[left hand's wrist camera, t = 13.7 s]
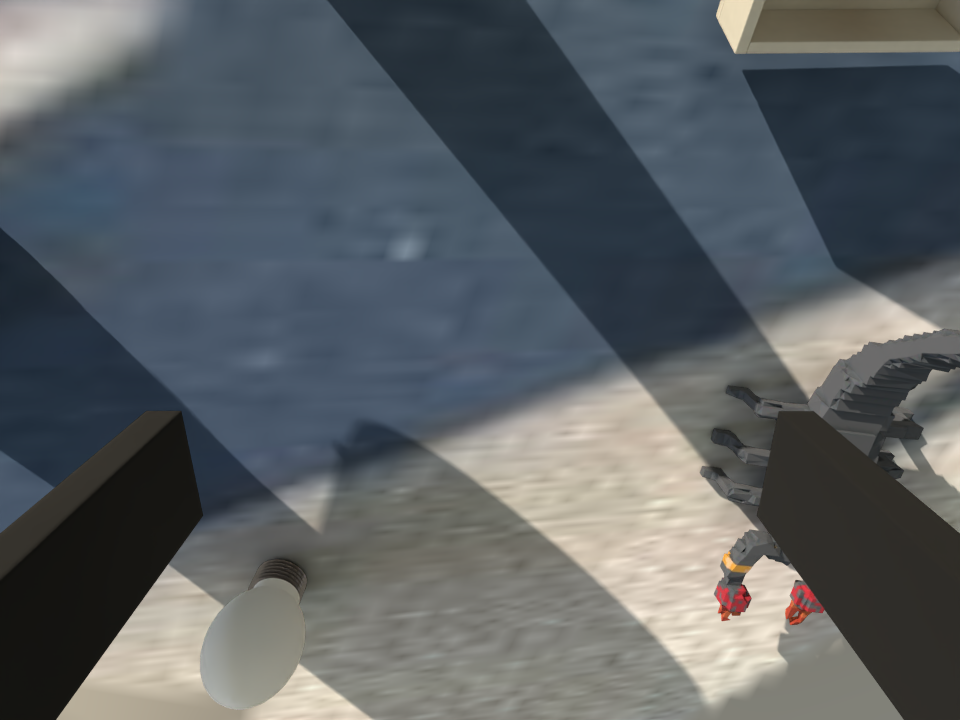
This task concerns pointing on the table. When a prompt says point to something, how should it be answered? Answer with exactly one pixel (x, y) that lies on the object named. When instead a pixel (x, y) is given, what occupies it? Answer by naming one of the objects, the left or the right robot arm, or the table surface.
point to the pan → (840, 26)
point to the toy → (853, 413)
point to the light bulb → (256, 638)
